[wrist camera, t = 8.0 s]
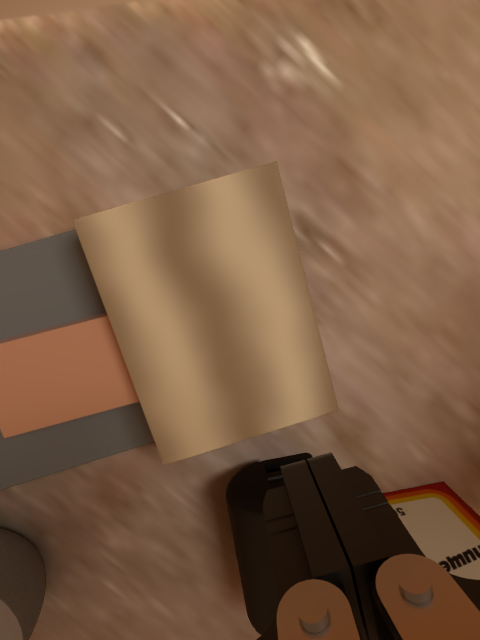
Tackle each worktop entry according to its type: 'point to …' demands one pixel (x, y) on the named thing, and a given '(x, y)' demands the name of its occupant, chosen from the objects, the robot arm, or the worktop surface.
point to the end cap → (256, 535)
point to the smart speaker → (19, 586)
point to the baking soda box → (441, 526)
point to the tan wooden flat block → (211, 311)
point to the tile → (61, 375)
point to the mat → (46, 311)
